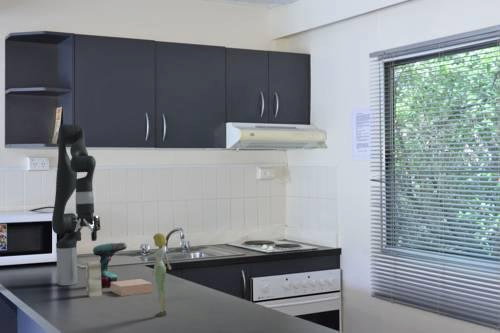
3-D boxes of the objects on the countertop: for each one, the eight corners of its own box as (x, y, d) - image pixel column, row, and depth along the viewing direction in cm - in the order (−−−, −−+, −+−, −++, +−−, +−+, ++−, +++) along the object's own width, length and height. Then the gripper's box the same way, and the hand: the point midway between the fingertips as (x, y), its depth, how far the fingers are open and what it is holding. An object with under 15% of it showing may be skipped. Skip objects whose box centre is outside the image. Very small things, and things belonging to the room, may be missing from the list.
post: (86, 295, 299) (85, 262, 299) (98, 293, 302) (97, 261, 302) (90, 297, 295) (89, 263, 295) (101, 295, 297) (100, 262, 297)
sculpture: (164, 311, 263) (162, 231, 262) (175, 311, 261) (173, 231, 261) (146, 318, 251) (144, 235, 250) (158, 319, 249) (156, 235, 249)
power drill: (124, 287, 314) (123, 243, 314) (91, 287, 318) (89, 243, 317) (130, 285, 321) (129, 241, 321) (97, 284, 325) (96, 241, 325)
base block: (110, 291, 307) (110, 282, 307) (141, 287, 314) (140, 278, 314) (121, 296, 295) (121, 286, 295) (152, 292, 302) (152, 283, 302)
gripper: (103, 201, 296) (105, 240, 296) (78, 202, 303) (80, 240, 303) (91, 202, 290) (92, 241, 289) (65, 203, 297) (67, 241, 296)
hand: (86, 240), depth 296 cm, fingers open, 8 cm apart
